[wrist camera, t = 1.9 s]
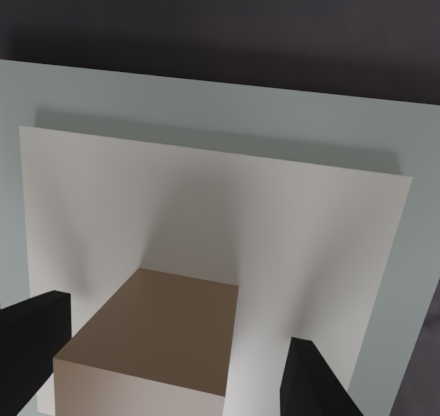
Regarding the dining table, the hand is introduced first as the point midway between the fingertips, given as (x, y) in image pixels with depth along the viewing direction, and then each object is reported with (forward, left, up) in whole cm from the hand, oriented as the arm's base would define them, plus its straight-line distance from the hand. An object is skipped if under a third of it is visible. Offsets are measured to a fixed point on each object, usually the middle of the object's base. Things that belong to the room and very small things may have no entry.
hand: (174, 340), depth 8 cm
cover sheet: (0, 0, -2) cm, 2 cm away
